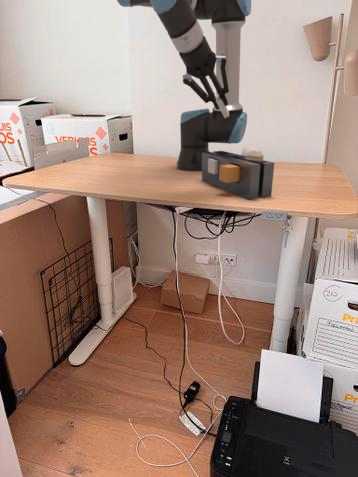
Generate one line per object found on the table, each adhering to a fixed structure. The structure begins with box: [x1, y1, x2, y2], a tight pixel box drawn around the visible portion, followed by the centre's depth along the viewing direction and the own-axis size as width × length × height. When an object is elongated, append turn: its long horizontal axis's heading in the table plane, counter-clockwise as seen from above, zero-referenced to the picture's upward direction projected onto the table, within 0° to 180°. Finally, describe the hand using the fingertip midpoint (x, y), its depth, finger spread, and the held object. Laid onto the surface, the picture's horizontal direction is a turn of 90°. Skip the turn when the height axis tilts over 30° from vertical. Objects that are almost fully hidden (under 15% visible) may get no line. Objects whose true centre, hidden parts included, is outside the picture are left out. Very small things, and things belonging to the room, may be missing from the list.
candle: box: [248, 150, 264, 160], centre depth 121 cm, size 6×6×10 cm
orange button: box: [219, 164, 240, 183], centre depth 101 cm, size 4×4×4 cm
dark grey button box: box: [201, 150, 275, 201], centre depth 108 cm, size 8×28×10 cm, turn 26°
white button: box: [208, 158, 219, 174], centre depth 112 cm, size 4×4×4 cm
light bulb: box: [241, 143, 260, 157], centre depth 130 cm, size 7×7×11 cm
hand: (226, 114), depth 101 cm, fingers closed
